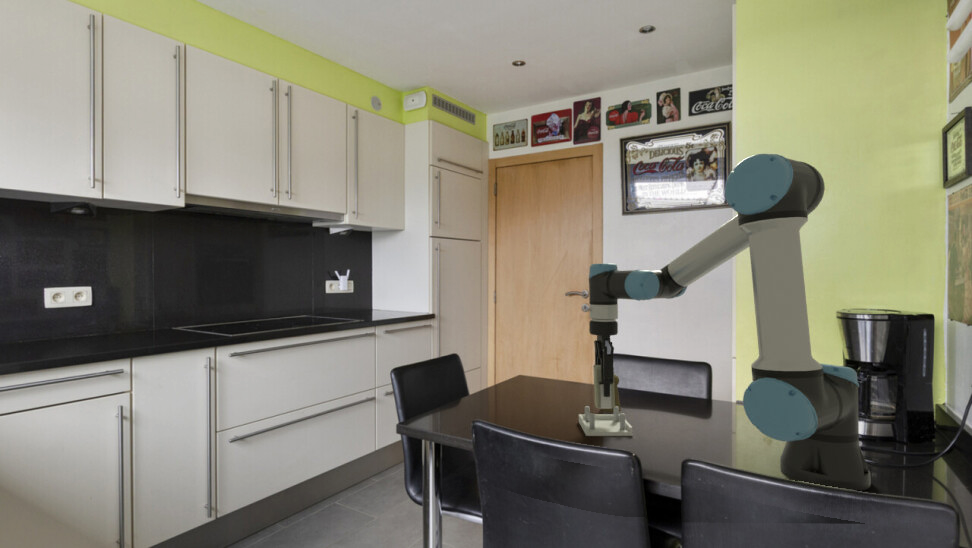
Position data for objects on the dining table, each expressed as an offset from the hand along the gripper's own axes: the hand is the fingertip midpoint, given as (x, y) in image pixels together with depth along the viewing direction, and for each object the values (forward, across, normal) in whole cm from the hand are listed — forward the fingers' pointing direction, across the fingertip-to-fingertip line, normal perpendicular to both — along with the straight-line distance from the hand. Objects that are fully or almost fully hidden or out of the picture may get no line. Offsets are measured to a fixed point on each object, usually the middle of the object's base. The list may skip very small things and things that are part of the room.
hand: (604, 405), depth 131 cm
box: (0, 0, 0) cm, 0 cm away
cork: (+7, -19, +6) cm, 21 cm away
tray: (+6, 0, 0) cm, 6 cm away
